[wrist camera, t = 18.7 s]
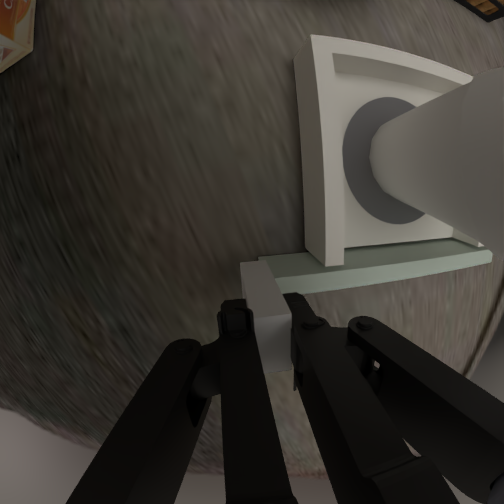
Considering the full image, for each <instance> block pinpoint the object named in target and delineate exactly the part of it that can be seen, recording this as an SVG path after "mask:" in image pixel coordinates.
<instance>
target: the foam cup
mask: <svg viewBox="0 0 504 504" xmlns="http://www.w3.org/2000/svg"><path fill="white" fill-rule="evenodd" d="M369 159H370V163H371V167H372V172H373V176H374V178H375V179H376V181H377V182H378V184H379V185H380V187H381V188H382V190H383V191H384V192H385V193H387V194H389V195H391V196H392V197H394V198H396V199H398V200H400V201H401V202H403V203H405V204H408V205H410V206H412V207H414V208H416V209H418V210H420V211H422V212H424V213H426V214H428V215H430V216H432V217H434V218H436V219H438V220H440V221H442V222H444V223H446V224H447V225H449V226H451V227H453V228H455V229H457V230H459V231H460V232H462V233H464V234H466V235H468V236H469V237H471V238H473V239H475V240H476V241H478V242H480V243H481V244H483V245H484V246H485V247H486V248H487V249H489V250H490V251H491V252H492V253H493V254H494V255H495V256H497V257H498V258H499V259H501V260H503V261H504V67H500V68H496V69H492V70H489V71H486V72H483V73H480V74H477V75H474V77H473V79H472V81H471V82H469V83H467V84H465V85H462V86H460V87H458V88H456V89H454V90H451V91H449V92H447V93H445V94H443V95H441V96H439V97H437V98H434V99H432V100H430V101H428V102H426V103H424V104H422V105H420V106H418V107H416V108H414V109H412V110H410V111H408V112H406V113H404V114H402V115H400V116H398V117H396V118H394V119H392V120H390V121H388V122H386V123H384V124H383V125H381V126H380V127H379V129H378V130H377V132H376V134H375V135H374V137H373V138H372V141H371V148H370V155H369Z"/></svg>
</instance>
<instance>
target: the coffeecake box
mask: <svg viewBox="0 0 504 504" xmlns="http://www.w3.org/2000/svg"><path fill="white" fill-rule="evenodd" d="M35 7H36V0H0V73H2V72H3V71H4V70H5V69H7V68H8V67H10V66H11V65H13V64H14V63H16V62H17V61H19V60H20V59H22V58H23V57H24V56H26V55H27V54H29V53H30V52H32V51H33V39H34V19H35Z"/></svg>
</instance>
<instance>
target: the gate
mask: <svg viewBox="0 0 504 504" xmlns="http://www.w3.org/2000/svg"><path fill="white" fill-rule="evenodd" d="M492 254H493V253H492V252H491V251H490V250H489V249H487V248H486V247H485V246H481V247H477V246H474V245H472V244H469V243H466V242H464V241H461V240H458V239H456V238H446V239H436V240H426V241H416V242H406V243H396V244H386V245H376V246H366V247H356V248H345V249H344V265H336V266H327V267H325V266H324V265H323V264H322V263H321V262H320V261H319V260H318V259H317V258H316V257H315V256H313V255H312V254H311V253H310V252H304V253H293V254H282V255H272V256H261V257H258V261H261V260H266V262H267V264H268V266H269V268H270V270H271V272H272V274H273V276H274V278H275V280H276V282H277V284H278V286H279V288H280V291H281V293H282V294H284V293H293V292H297V293H299V294H308V293H315V292H323V291H330V290H338V289H345V288H352V287H358V286H365V285H372V284H378V283H384V282H390V281H396V280H402V279H408V278H414V277H419V276H425V275H430V274H436V273H441V272H446V271H451V270H456V269H461V268H466V267H471V266H476V265H480V264H485V263H489V262H491V260H492Z"/></svg>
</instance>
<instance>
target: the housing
mask: <svg viewBox="0 0 504 504" xmlns="http://www.w3.org/2000/svg"><path fill="white" fill-rule="evenodd" d="M293 64H294V73H295V83H296V93H297V104H298V116H299V128H300V142H301V158H302V176H303V198H304V227H305V248H306V249H307V250H308V251H309V252H310V253H311V254H312V255H313V256H315V257H316V258H317V259H318V260H319V261H320V262H321V263H322V264H323V265H324V266H325V267H327V266H336V265H344V248H348V247H358V246H369V245H379V244H389V243H399V242H409V241H420V240H430V239H440V238H450V237H453V238H456V239H458V240H461V241H464V242H466V243H469V244H472V245H474V246H477V247H481V246H484V245H483V244H481V243H480V242H478V241H476V240H475V239H473V238H471V237H469V236H468V235H466V234H464V233H462V232H460V231H459V230H457V229H455V228H453V227H451V226H449V225H447V224H446V223H444V222H442V221H440V220H438V219H436V218H434V217H432V216H430V215H428V214H426V213H424V212H422V211H420V210H418V209H416V208H414V207H412V206H410V205H408V204H405V203H403V202H401V201H400V200H398V199H396V198H394V197H392V196H391V195H389V194H387V193H385V192H384V191H383V190H382V188H381V187H380V185H379V184H378V182H377V181H376V179H375V178H374V176H373V172H372V167H371V163H370V159H369V155H370V148H371V141H372V138H373V137H374V135H375V134H376V132H377V130H378V129H379V127H380V126H381V125H383V124H384V123H386V122H388V121H390V120H392V119H394V118H396V117H398V116H400V115H402V114H404V113H406V112H408V111H410V110H412V109H414V108H416V107H418V106H420V105H422V104H424V103H426V102H428V101H430V100H432V99H434V98H437V97H439V96H441V95H443V94H445V93H447V92H449V91H451V90H454V89H456V88H458V87H460V86H462V85H465V84H467V83H469V82H471V81H472V79H473V76H470V75H468V74H466V73H463V72H461V71H459V70H456V69H454V68H451V67H448V66H446V65H443V64H440V63H438V62H435V61H432V60H429V59H426V58H423V57H420V56H416V55H413V54H410V53H406V52H403V51H399V50H395V49H391V48H387V47H383V46H379V45H374V44H370V43H365V42H360V41H354V40H348V39H342V38H336V37H328V36H320V35H311V34H310V36H309V37H308V39H307V40H306V41H305V43H304V44H303V46H302V47H301V49H300V50H299V51H298V53H297V54H296V56H295V57H294V59H293Z"/></svg>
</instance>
